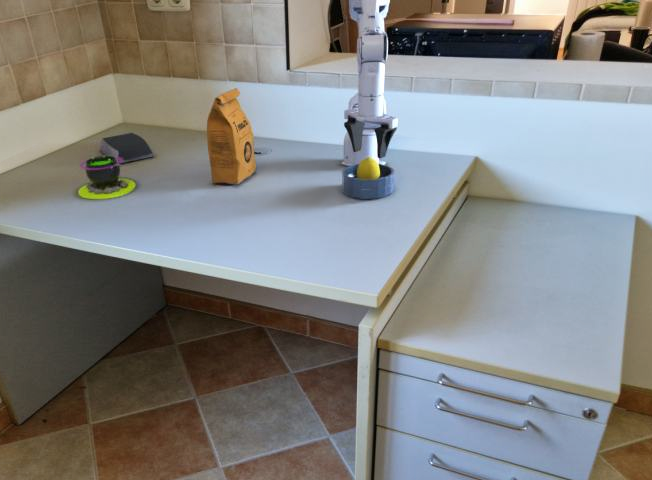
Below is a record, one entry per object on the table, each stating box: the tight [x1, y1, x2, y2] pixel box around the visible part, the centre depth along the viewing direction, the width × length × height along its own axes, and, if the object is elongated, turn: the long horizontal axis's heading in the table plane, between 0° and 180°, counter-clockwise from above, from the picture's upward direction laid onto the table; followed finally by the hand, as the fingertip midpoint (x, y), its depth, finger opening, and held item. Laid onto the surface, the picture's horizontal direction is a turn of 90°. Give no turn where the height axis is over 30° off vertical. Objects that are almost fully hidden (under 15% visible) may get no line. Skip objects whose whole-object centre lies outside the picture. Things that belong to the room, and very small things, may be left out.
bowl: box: [341, 164, 395, 200], centre depth 146 cm, size 12×12×5 cm
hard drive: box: [99, 132, 155, 164], centre depth 184 cm, size 13×19×4 cm
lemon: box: [357, 157, 380, 179], centre depth 145 cm, size 6×6×8 cm
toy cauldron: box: [77, 144, 137, 200], centre depth 156 cm, size 15×15×11 cm
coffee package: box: [206, 87, 257, 185], centre depth 154 cm, size 10×12×22 cm
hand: (369, 154), depth 143 cm, fingers open, 7 cm apart
